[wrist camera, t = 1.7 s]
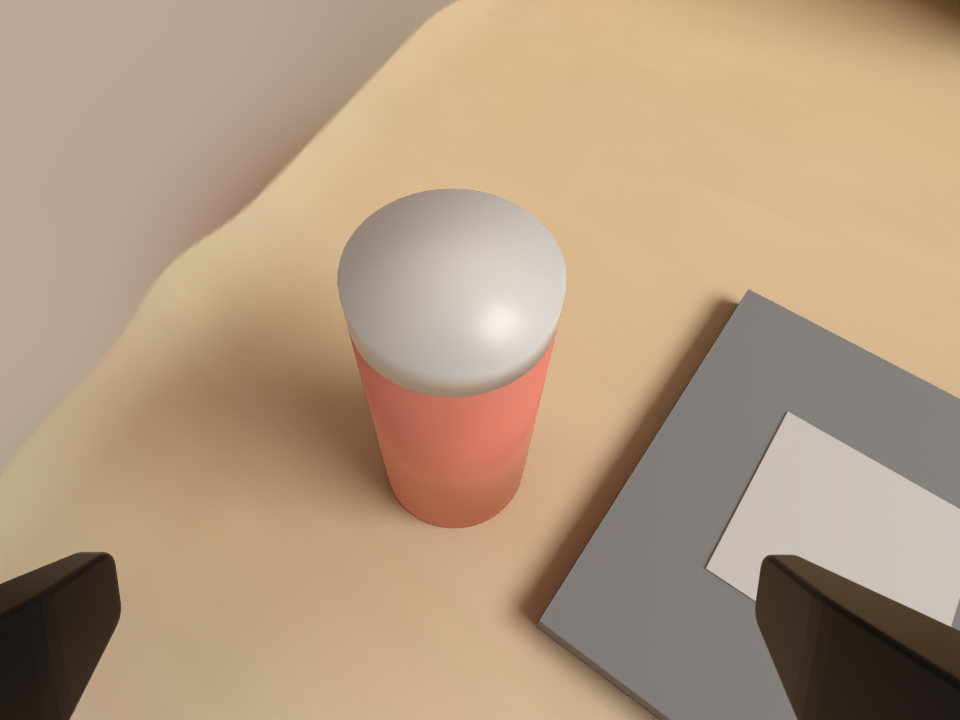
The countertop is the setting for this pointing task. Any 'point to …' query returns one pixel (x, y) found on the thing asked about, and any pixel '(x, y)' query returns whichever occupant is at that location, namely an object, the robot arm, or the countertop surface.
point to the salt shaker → (452, 344)
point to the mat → (764, 514)
